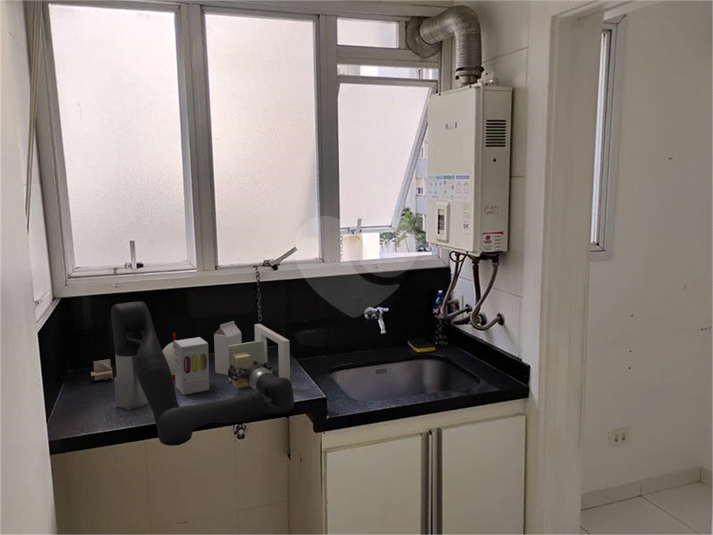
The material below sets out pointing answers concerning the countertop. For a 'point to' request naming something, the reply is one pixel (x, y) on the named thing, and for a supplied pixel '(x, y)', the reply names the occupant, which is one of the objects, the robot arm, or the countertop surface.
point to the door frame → (283, 348)
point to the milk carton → (225, 345)
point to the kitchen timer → (170, 356)
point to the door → (249, 351)
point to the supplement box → (191, 365)
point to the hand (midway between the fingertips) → (242, 365)
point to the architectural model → (102, 370)
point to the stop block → (241, 361)
